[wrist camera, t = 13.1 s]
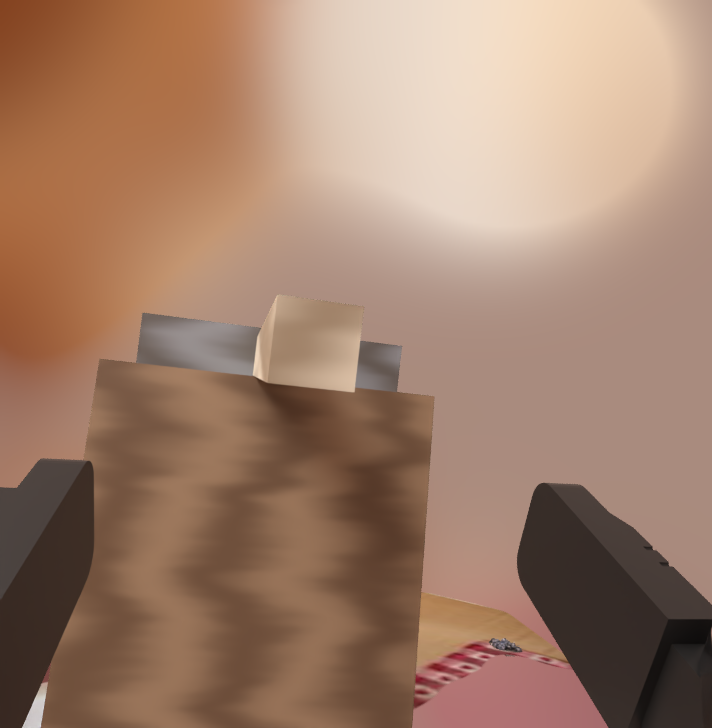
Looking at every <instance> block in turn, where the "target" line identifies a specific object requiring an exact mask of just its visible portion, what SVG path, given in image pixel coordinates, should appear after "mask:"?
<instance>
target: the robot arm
mask: <svg viewBox="0 0 712 728" xmlns="http://www.w3.org/2000/svg"><path fill="white" fill-rule="evenodd" d="M93 552H94V470H93V465H92V463H91V461H86V460H65V459H64V460H63V459H40V460H39V461H38V462H37V463H36V464H35V466H34V467H33V468H32V469H31V471H30V472H29V473H28V475H27V476H26V477H25V478H24V480H23V481H22V482H21V483H20V485H19V486H18V487H17V488H2V487H0V728H22V726H23V724H24V722H25V720H26V717H27V715H28V713H29V710H30V708H31V706H32V704H33V701H34V699H35V697H36V695H37V692H38V690H39V688H40V685H41V683H42V681H43V679H44V676H45V674H46V671H47V670H48V667H49V665H50V663H51V660H52V658H53V656H54V654H55V651H56V649H57V647H58V645H59V642H60V640H61V638H62V635H63V633H64V631H65V629H66V626H67V624H68V622H69V620H70V617H71V615H72V613H73V610H74V608H75V606H76V604H77V601H78V599H79V597H80V595H81V592H82V590H83V588H84V585H85V583H86V581H87V578H88V575H89V572H90V568H91V564H92V559H93ZM517 568H518V574H519V578H520V581H521V584H522V586H523V588H524V590H525V591H526V592H527V594H528V596H529V598H530V599H531V601H532V603H533V604H534V606H535V608H536V609H537V611H538V612H539V614H540V616H541V617H542V619H543V621H544V622H545V624H546V626H547V627H548V629H549V630H550V632H551V634H552V635H553V637H554V639H555V640H556V642H557V644H558V645H559V647H560V649H561V650H562V652H563V654H564V655H565V657H566V658H567V660H568V662H569V663H570V665H571V667H572V668H573V670H574V672H575V673H576V675H577V676H578V678H579V680H580V681H581V683H582V684H583V686H584V688H585V689H586V691H587V693H588V694H589V696H590V698H591V699H592V701H593V703H594V704H595V706H596V708H597V709H598V711H599V713H600V714H601V716H602V717H603V719H604V721H605V722H606V724H607V726H608V727H609V728H712V605H711V604H710V603H709V602H708V601H707V600H706V599H705V598H704V597H703V596H702V595H701V594H700V593H699V592H698V591H697V590H696V589H695V588H694V587H693V586H692V585H691V584H690V583H689V582H688V581H687V580H686V579H685V578H684V577H683V576H682V575H681V574H680V573H679V572H678V571H677V570H676V569H675V568H674V567H669V565H668V561H667V560H666V559H665V558H664V557H662V555H661V554H660V553H658V552H657V551H655V550H653V549H652V546H651V545H650V544H649V543H648V542H647V541H646V540H645V539H644V538H643V537H642V536H641V535H640V534H639V533H638V532H637V531H636V530H635V529H634V528H633V527H631V526H630V525H628V524H626V523H625V522H623V521H622V520H620V519H619V518H617V517H615V516H613V515H612V514H610V513H609V512H608V511H607V510H606V509H605V508H604V507H603V506H602V505H601V504H600V503H599V502H598V501H597V500H596V499H595V498H594V497H593V496H592V495H591V494H590V493H589V492H588V491H587V490H586V489H585V488H584V487H583V486H581V485H578V484H556V483H541V484H539V485H538V486H537V487H536V489H535V491H534V493H533V496H532V500H531V503H530V507H529V511H528V515H527V519H526V523H525V527H524V530H523V534H522V538H521V542H520V546H519V550H518V556H517Z"/></svg>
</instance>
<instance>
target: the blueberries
mask: <svg viewBox="0 0 712 728" xmlns="http://www.w3.org/2000/svg"><path fill="white" fill-rule="evenodd" d="M489 643H490V645H492V646H493V647H494V648H497V649H499V650H506V651H513V652H522V649H521V648H520V647H517V646H520V645H517V646H515V643H510V642H509V641H508V640H506V639H505V638H503V639H502V640H501V641H499V640H498V639H495V638H492V639H491V641H490V642H489ZM505 656H513V657H514V656H515V655H505Z"/></svg>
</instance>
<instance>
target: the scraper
mask: <svg viewBox="0 0 712 728" xmlns="http://www.w3.org/2000/svg"><path fill="white" fill-rule="evenodd" d="M363 312H364V307H363V306H356V305H349V304H342V303H334V302H328V301H321V300H314V299H306V298H299V297H292V296H285V295H277V297H276V299H275V301H274V303H273V305H272V307H271V310H270V312H269V314H268V316H267V318H266V320H265V322H264V324H263V326H262V328H257V327H249V326H241V325H233V324H226V323H217V322H210V321H203V320H195V319H187V318H179V317H172V316H164V315H155V314H148V313H143V314H142V322H141V329H140V338H139V345H138V353H137V361H136V363H141V364H150V365H159V366H168V367H177V368H185V369H194V370H203V371H212V372H221V373H230V374H239V375H248V376H255V377H257V378H259V379H261V380H263V381H265V382H267V383H273V384H282V385H291V386H300V387H309V388H318V389H327V390H337V391H346V392H355V388H364V389H373V390H382V391H391V392H397V386H398V376H399V367H400V358H401V349H402V346H397V345H388V344H381V343H374V342H366V341H360V338H361V329H362V321H363Z"/></svg>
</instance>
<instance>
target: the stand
mask: <svg viewBox="0 0 712 728" xmlns="http://www.w3.org/2000/svg"><path fill="white" fill-rule="evenodd" d="M433 409H434V396H426V395H418V394H408V393H400V392H391V391H382V390H373V389H364V388H355V392H346V391H337V390H327V389H318V388H309V387H300V386H291V385H282V384H273V383H267V382H265V381H263V380H261V379H259V378H257V377H255V376H248V375H239V374H230V373H221V372H212V371H203V370H194V369H185V368H177V367H168V366H159V365H150V364H141V363H132V362H123V361H114V360H104V359H100V360H99V367H98V372H97V379H96V385H95V391H94V398H93V404H92V410H91V416H90V423H89V429H88V435H87V442H86V448H85V454H84V460H86V461H91V463H92V465H93V470H94V552H93V559H92V564H91V568H90V572H89V575H88V578H87V581H86V583H85V585H84V588H83V590H82V592H81V595H80V597H79V599H78V601H77V604H76V606H75V608H74V610H73V613H72V615H71V617H70V620H69V622H68V624H67V626H66V629H65V631H64V633H63V635H62V638H61V640H60V642H59V645H58V647H57V649H56V651H55V654H54V656H53V658H52V661H51V668H50V674H49V680H48V686H47V693H46V699H45V705H44V712H43V718H42V724H41V728H412V720H413V706H414V691H415V676H416V662H417V647H418V632H419V617H420V602H421V588H422V572H423V558H424V543H425V528H426V514H427V498H428V484H429V483H428V482H429V469H430V454H431V440H432V425H433Z"/></svg>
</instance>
